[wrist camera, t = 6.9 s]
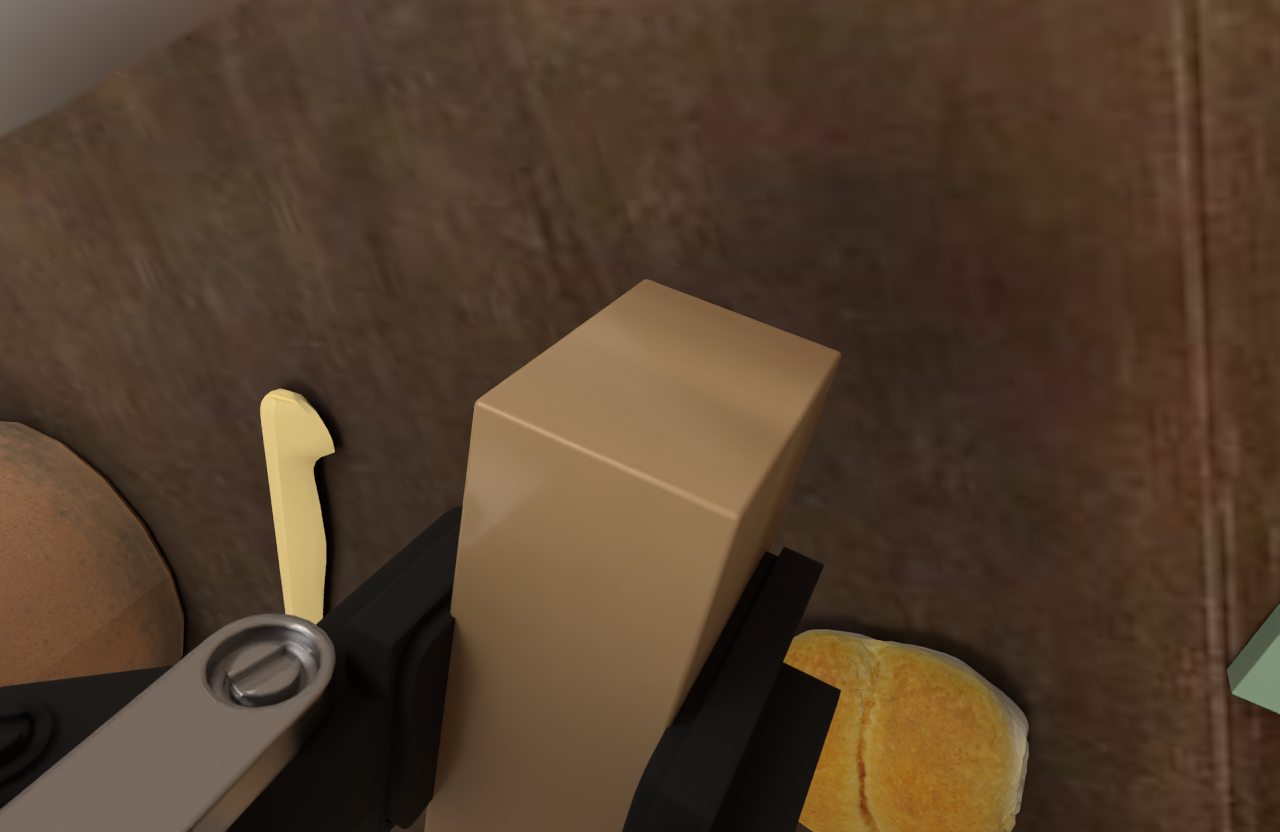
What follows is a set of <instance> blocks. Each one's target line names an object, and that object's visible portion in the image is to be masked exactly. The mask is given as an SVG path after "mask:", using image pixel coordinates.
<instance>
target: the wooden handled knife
mask: <svg viewBox="0 0 1280 832" xmlns="http://www.w3.org/2000/svg"><path fill="white" fill-rule="evenodd" d="M840 360H841V353H840V352H838V351H836V350H833V349H831V348H828V347H825V346H823V345H820V344H817V343H815V342H812V341H809V340H807V339H804V338H801V337H799V336H796V335H793V334H791V333H788V332H786V331H783V330H780V329H778V328H775V327H772V326H770V325H767V324H764V323H762V322H759V321H756V320H754V319H751V318H748V317H746V316H743V315H740V314H738V313H735V312H733V311H730V310H727V309H725V308H722V307H719V306H717V305H714V304H711V303H709V302H706V301H703V300H701V299H698V298H695V297H693V296H690V295H688V294H685V293H682V292H680V291H677V290H674V289H672V288H669V287H666V286H664V285H661V284H658V283H656V282H653V281H650V280H643V281H642V282H640V283H639V284H638V285H636V286H635V287H633V288H632V289H631V290H629V291H628V292H626V293H625V294H624V295H622V296H621V297H620V298H618V299H617V300H615V301H614V302H613V303H611V304H610V305H608V306H607V307H606V308H604V309H603V310H601V311H600V312H599V313H597V314H596V315H595V316H593V317H592V318H590V319H589V320H588V321H586V322H585V323H583V324H582V325H581V326H579V327H578V328H576V329H575V330H574V331H572V332H571V333H569V334H568V335H567V336H565V337H564V338H563V339H561V340H560V341H558V342H557V343H556V344H554V345H553V346H551V347H550V348H549V349H547V350H546V351H544V352H543V353H542V354H540V355H539V356H537V357H536V358H535V359H533V360H532V361H531V362H529V363H528V364H526V365H525V366H524V367H522V368H521V369H519V370H518V371H517V372H515V373H514V374H512V375H511V376H510V377H508V378H507V379H506V380H504V381H503V382H501V383H500V384H499V385H497V386H496V387H494V388H493V389H492V390H490V391H489V392H487V393H486V394H485V395H483V396H482V397H480V398H479V399H478V400H477V401H476V403H475V407H474V415H473V424H472V432H471V441H470V449H469V458H468V466H467V475H466V483H465V492H464V500H463V509H462V517H461V526H460V534H459V543H458V551H457V560H456V568H455V577H454V585H453V594H452V602H451V611H450V614H451V615H452V616H453V617H455V625H454V633H453V641H452V649H451V657H450V665H449V673H448V681H447V689H446V697H445V705H444V713H443V721H442V729H441V737H440V745H439V753H438V761H437V769H436V777H435V785H434V793H433V799H432V800H431V802H430V803H429V804H428V806H427V815H426V823H425V832H622V830H623V827H624V823H625V820H626V817H627V814H628V811H629V808H630V805H631V802H632V799H633V796H634V793H635V791H636V788H637V786H638V783H639V781H640V779H641V777H642V774H643V772H644V770H645V768H646V766H647V764H648V762H649V760H650V758H651V756H652V754H653V752H654V750H655V748H656V746H657V745H658V743H659V741H660V739H661V737H662V735H663V734H664V732H665V730H666V728H667V727H668V728H669V727H670V726H672V724H673V722H674V720H675V718H676V716H677V715H678V713H679V711H680V709H681V707H682V705H683V704H684V702H685V700H686V698H687V696H688V694H689V692H690V691H691V689H692V687H693V685H694V683H695V681H696V679H697V678H698V676H699V674H700V672H701V670H702V668H703V667H704V665H705V663H706V661H707V659H708V657H709V655H710V654H711V652H712V650H713V648H714V646H715V644H716V642H717V641H718V639H719V637H720V635H721V633H722V631H723V630H724V628H725V626H726V624H727V622H728V620H729V618H730V617H731V615H732V613H733V611H734V609H735V607H736V605H737V604H738V602H739V600H740V598H741V596H742V594H743V593H744V591H745V589H746V587H747V585H748V583H749V581H750V580H751V578H752V576H753V574H754V572H755V570H756V568H757V567H758V565H759V563H760V561H761V559H762V557H763V556H764V554H765V552H766V551H767V552H769V551H770V549H771V546H772V543H773V540H774V538H775V535H776V532H777V530H778V527H779V524H780V522H781V519H782V516H783V513H784V511H785V508H786V505H787V503H788V500H789V497H790V495H791V492H792V489H793V486H794V484H795V481H796V478H797V476H798V473H799V470H800V468H801V465H802V462H803V460H804V457H805V454H806V451H807V449H808V446H809V443H810V441H811V438H812V435H813V433H814V430H815V427H816V424H817V422H818V419H819V416H820V414H821V411H822V408H823V406H824V403H825V400H826V397H827V395H828V392H829V389H830V387H831V384H832V381H833V379H834V376H835V373H836V371H837V368H838V365H839V362H840Z"/></svg>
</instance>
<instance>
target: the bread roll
mask: <svg viewBox="0 0 1280 832" xmlns="http://www.w3.org/2000/svg"><path fill="white" fill-rule="evenodd" d="M783 662H784V663H786V664H788V665H790V666H792V667H794V668H796V669H799V670H801V671H803V672H805V673H807V674H809V675H811V676H813V677H815V678H817V679H819V680H821V681H823V682H825V683H828V684H830V685H832V686H834V687H836V688H838V689H840V690H841V693H840V697H839V701H838V704H837V707H836V710H835V713H834V716H833V719H832V722H831V725H830V728H829V731H828V734H827V737H826V740H825V743H824V746H823V749H822V752H821V755H820V758H819V761H818V764H817V767H816V770H815V773H814V776H813V779H812V782H811V785H810V788H809V791H808V794H807V797H806V800H805V803H804V806H803V809H802V812H801V815H800V818H799V821H798V822H800V823H802V824H803V825H805V826H806V827H807V828H809V829H810V830H811V831H813V832H1010V831H1011V830H1012V829H1013V827H1014V825H1015V815H1016V814H1017V813H1018V812H1019V811H1020V806H1021V800H1022V795H1023V794H1022V793H1023V787H1024V782H1025V775H1026V773H1027V760H1028V756H1029V753H1028V750H1029V746H1028V742H1027V735H1028V729H1029V725H1028V721H1027V719H1026V717H1025V715H1024V713H1023V712H1022V710H1021V709H1020V708H1019V707H1018V706H1017V705H1016V704H1015V703H1014V702H1013V701H1012V700H1011V699H1010V698H1009V697H1008V696H1007V695H1005V694H1004V693H1003V692H1002V691H1001V690H999V689H998V688H997V687H995V686H994V685H992V684H991V683H990V682H989V681H988V680H986V679H985V678H984V677H983V676H982V675H980V674H979V673H977V672H976V671H975V670H974V669H972V668H971V667H970V666H968V665H967V664H965V663H964V662H962V661H961V660H959V659H957V658H955V657H953V656H950V655H948V654H946V653H942V652H938V651H935V650H931V649H928V648H924V647H920V646H915V645H910V644H902V643H898V642H894V641H880V640H875V639H873V638H870V637H868V636H865V635H862V634H857V633H851V632H844V631H836V630H828V629H821V630H808V631H806V632H803V633H801V634H800V635H798V636H796V637H794V638H793V640H792V642H791V645H790V647H789V649H788V652H787V654H786V657H785V659H784V661H783Z"/></svg>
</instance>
